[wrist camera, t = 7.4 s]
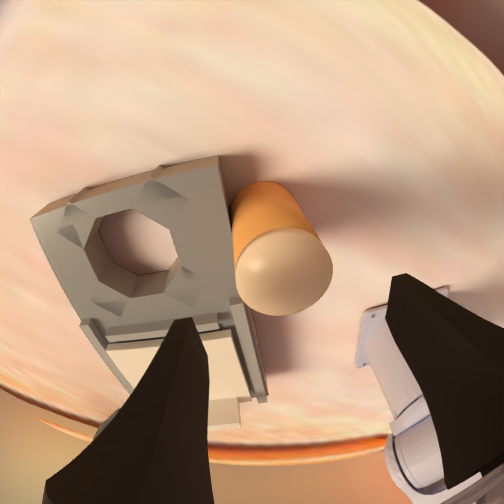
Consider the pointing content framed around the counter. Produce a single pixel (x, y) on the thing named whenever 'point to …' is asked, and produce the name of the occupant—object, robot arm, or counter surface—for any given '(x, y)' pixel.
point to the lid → (220, 373)
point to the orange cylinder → (276, 252)
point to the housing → (161, 283)
